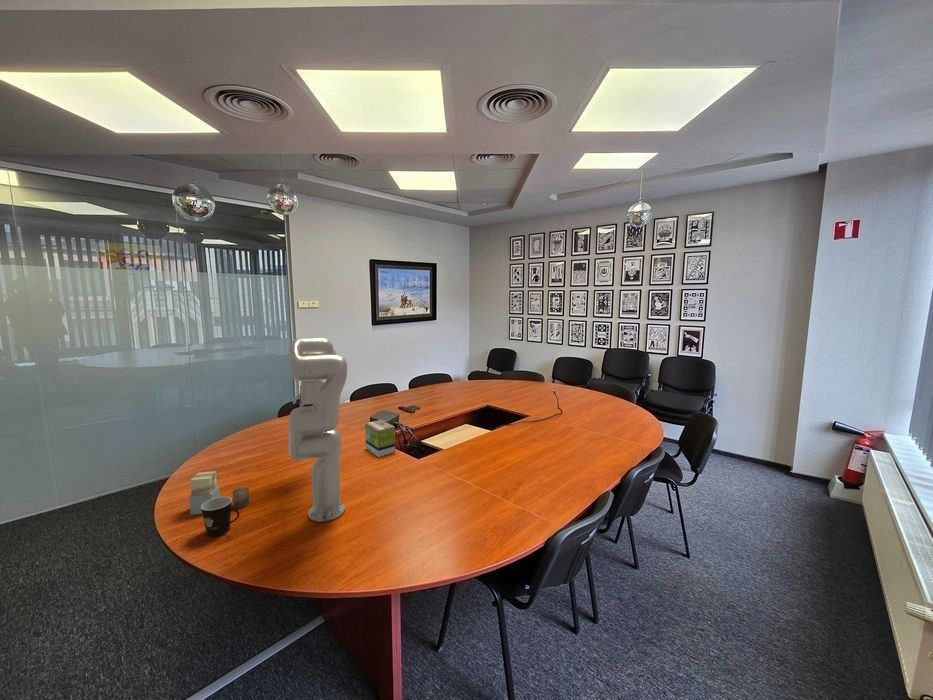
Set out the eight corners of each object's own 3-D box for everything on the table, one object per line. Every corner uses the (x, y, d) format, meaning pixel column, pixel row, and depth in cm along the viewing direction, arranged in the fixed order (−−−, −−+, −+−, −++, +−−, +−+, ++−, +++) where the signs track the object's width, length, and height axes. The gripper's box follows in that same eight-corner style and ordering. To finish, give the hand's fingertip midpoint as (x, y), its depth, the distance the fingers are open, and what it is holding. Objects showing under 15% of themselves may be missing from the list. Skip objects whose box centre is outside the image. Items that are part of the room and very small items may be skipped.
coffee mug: (198, 533, 123) (196, 504, 122) (226, 521, 130) (224, 494, 129) (214, 546, 117) (212, 516, 116) (242, 532, 124) (241, 504, 123)
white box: (212, 512, 135) (211, 494, 135) (190, 515, 134) (189, 496, 133) (219, 502, 142) (218, 485, 141) (199, 505, 140) (197, 487, 140)
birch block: (210, 493, 135) (209, 478, 134) (191, 495, 133) (190, 480, 133) (216, 486, 141) (216, 471, 140) (198, 488, 139) (197, 472, 139)
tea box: (364, 449, 198) (364, 422, 196) (381, 444, 205) (381, 419, 203) (378, 458, 187) (378, 429, 185) (395, 453, 194) (395, 425, 192)
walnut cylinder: (247, 507, 139) (246, 492, 138) (231, 509, 138) (230, 494, 137) (251, 500, 144) (250, 486, 143) (236, 502, 143) (235, 487, 142)
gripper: (292, 381, 156) (294, 420, 158) (334, 377, 166) (335, 413, 168) (288, 378, 162) (290, 416, 164) (329, 374, 172) (329, 410, 174)
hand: (312, 415), depth 166 cm, fingers open, 9 cm apart
